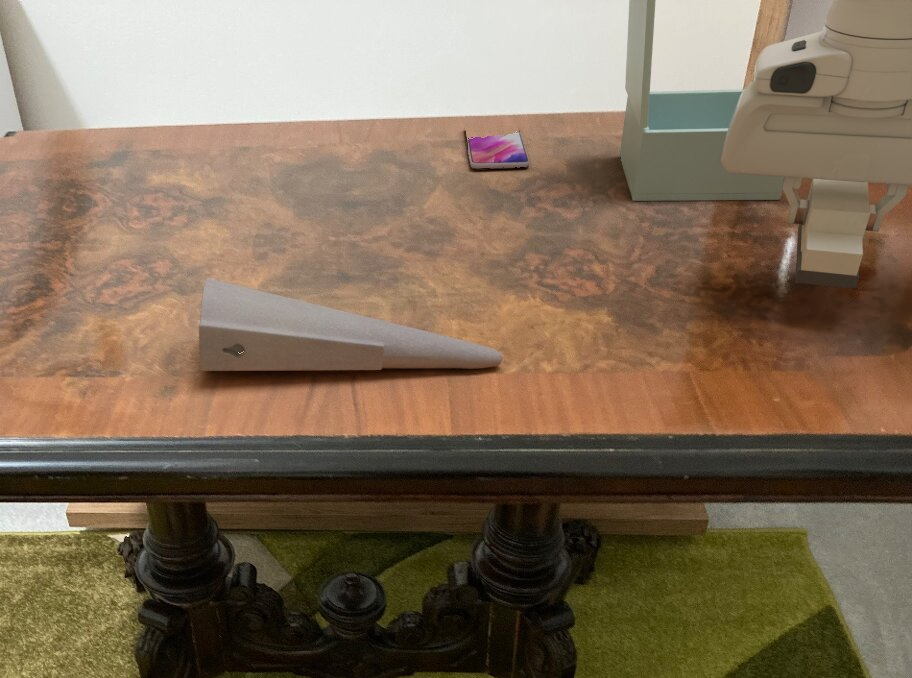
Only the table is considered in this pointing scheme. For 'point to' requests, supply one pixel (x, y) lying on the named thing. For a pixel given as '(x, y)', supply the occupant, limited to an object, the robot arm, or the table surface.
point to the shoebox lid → (640, 57)
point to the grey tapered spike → (316, 337)
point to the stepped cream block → (833, 233)
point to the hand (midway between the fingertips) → (831, 225)
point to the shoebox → (687, 150)
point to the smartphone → (498, 151)
